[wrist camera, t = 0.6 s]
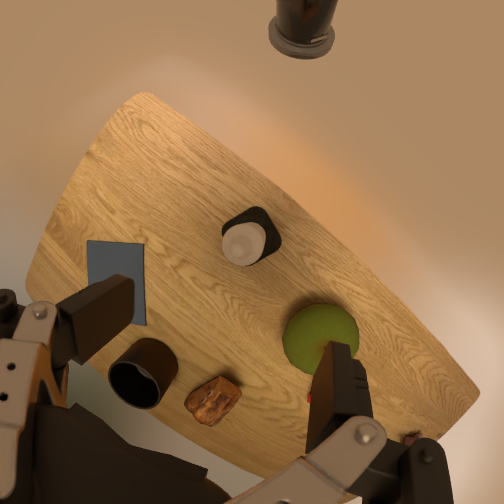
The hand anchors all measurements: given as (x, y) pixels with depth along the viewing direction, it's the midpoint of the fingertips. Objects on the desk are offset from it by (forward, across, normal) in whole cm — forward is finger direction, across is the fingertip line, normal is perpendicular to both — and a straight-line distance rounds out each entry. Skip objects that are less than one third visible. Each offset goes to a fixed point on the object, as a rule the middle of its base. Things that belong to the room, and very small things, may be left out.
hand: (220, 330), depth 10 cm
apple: (+30, -8, +15) cm, 35 cm away
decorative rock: (+26, +5, +31) cm, 41 cm away
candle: (+31, +4, +3) cm, 31 cm away
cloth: (+26, +26, +17) cm, 40 cm away
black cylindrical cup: (+24, +17, +30) cm, 43 cm away
